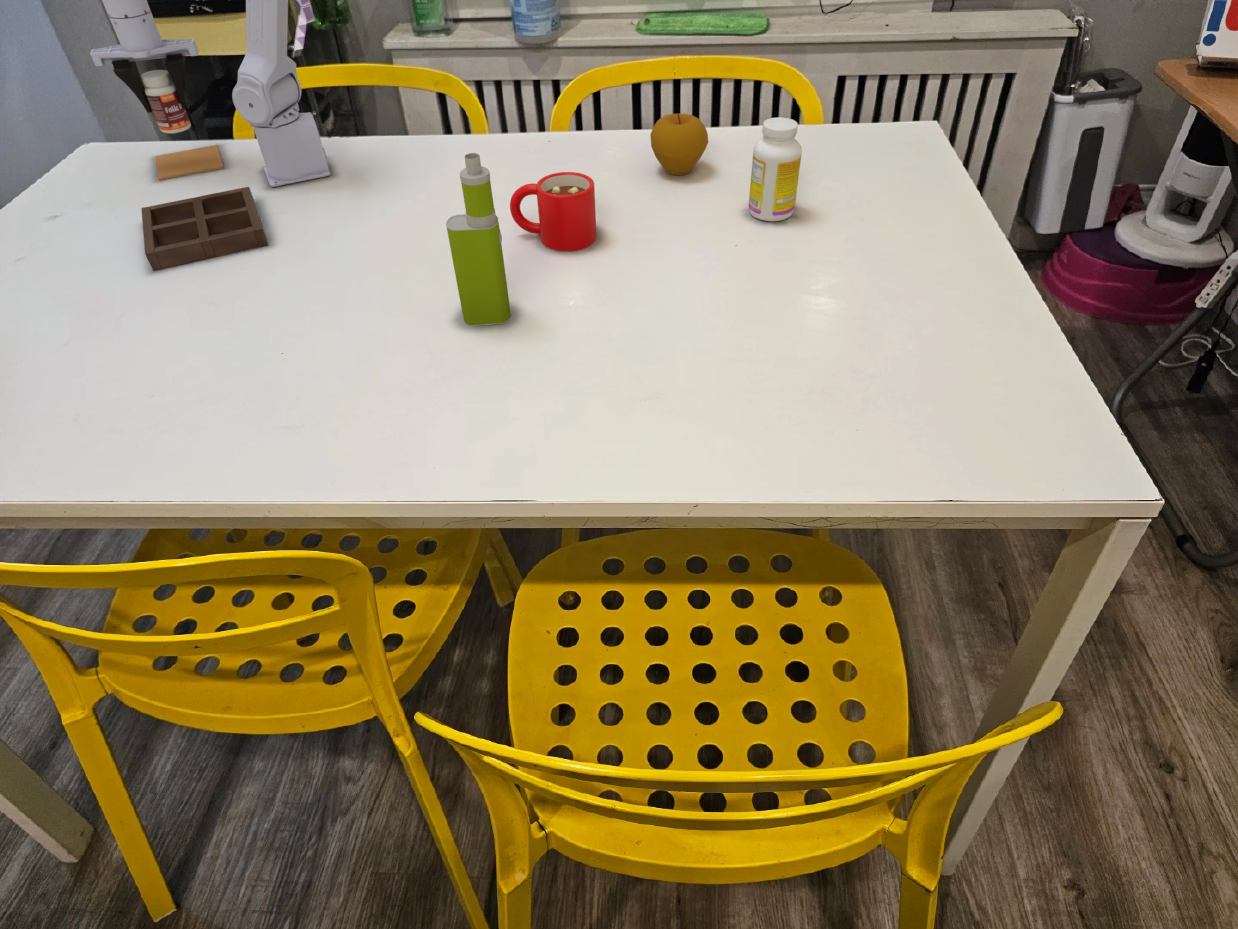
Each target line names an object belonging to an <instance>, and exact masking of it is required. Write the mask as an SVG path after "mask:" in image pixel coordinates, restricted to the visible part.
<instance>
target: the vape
mask: <svg viewBox="0 0 1238 929" xmlns="http://www.w3.org/2000/svg"><path fill="white" fill-rule="evenodd" d="M463 157H464V163H465V168H462V169H460V171H459V179H460V184H461V189H462V190H461V191H462V196H463V202H464V209H465V214H455V215H452V216H450V217H448V219H446V222H445V227H446V231H447V236H448V242H449V248H450V253H451V260H452V264H453V269H454V275H455V280H456V285H457V292H458V297H459V302H460V308H461V314H462V318H463V322H464V324H466V325H467V326H470V327H478V326H492V325H493V326H494V325H495V326H496V325H503V324H506V323H507V322H509V320H510V319H511V317H512V313H511V311H512V310H511V305H510V304H511V303H510V297H509V289H508V282H507V275H506V274H507V273H506V267H505V260H504V251H503V245H502V242H503V236H502V232H501V228H500V222H499V217H498V216H497V214H496V209H495V205H494V198H493V190H492V183H491V173H490V170H489V168H488V167H485V166H482V164H481V156H480V154H479V153H477V152H469V153H467V154H465V155H464V156H463Z"/></svg>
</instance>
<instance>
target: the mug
mask: <svg viewBox="0 0 1238 929" xmlns="http://www.w3.org/2000/svg"><path fill="white" fill-rule="evenodd" d="M595 191H596V190H595V182H594V179H593V178H591V177H590V176H589V175H586V174H585V173H581V172H575V171H561V172H554V173H550V174H548V175H545V176H544V177H541V178H540V179H538V180H537V182H536V183H527V184H523V185H522V186H520V187H518V188H517V189H515V191H514V192H513V193H512V196H511V197H510V200H509V210H510V214H511V217H512V219H513V221H514V223H516V225H517V226H518V227H519V228H521V229H522V230H524V231H525V232H527V233H531V234H538V235H539V234H540V240H541V243H542V244H543V246H544V247H546V248H548V249H550V250H553V251H557V252H576V251H580V250H585V249H586V248H588V247H591V246H592V245H593V244H594V243H595V242H596V240H597V236H598V234H597V216H596V214H597V213H596V212H597V211H596V194H595V193H596V192H595ZM533 195H535V196H536V201H537V202H536V203H537V211H538V220H539V222H533V221H531V220H529V219H527V218H526V217H525V216H524V215H523V213H522V211H521V204H522V201H523V200H524V199H525V197H529V196H533Z"/></svg>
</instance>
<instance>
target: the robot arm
mask: <svg viewBox="0 0 1238 929" xmlns="http://www.w3.org/2000/svg"><path fill="white" fill-rule="evenodd" d="M101 1H102V4H103V6H104V9H105V11H106V13H107V16H108V18H109V20H110V22H111V25H112V28H113V30H114V33H115V34H116V37H117V39H118V42H119V44H115V45H112V46H111V45H110V46H106V47H100V48H93V49H91V50H90V52H89V54H90V56H91V58H92V61H93V63H94V66H95V67H96V68H97V67H104V65H112V67H113V70H112V71H113V74H114V75H115V76H116V77H117V78H118V79H119V80H120V81H122V82H123V83H124V85H126V87H128V88H129V89H130V90H131V92H132V93H133V94H134V95H135V96H136V97H137V99H138V101H139V102H140V103H141V105H142V106H143V108H144V109H145V111H146V113H153V112H152V109H151V107H150V104H149V102H148V99H147V97H146V95H145V88H146V86H145V85H144V84H143V81H142V78H141V74H140V71H139V68H138V66H137V62H139V61H149V60H157V59H166V60H165V62H164V66H165V68H166V71H168V72H169V75H170V77H171V80H172V83H173V84H174V85H175V88H176V90H177V94H178V97H179V100H180V103H181V105H182V107H183V108H185V109H188V108H189V104H190V103H189V100H188V96H187V89H186V77H185V76H186V72H185V71H186V57H187V56H190V57H197V56H199V49H198V45H197V43H196V40H195V38H186V39H185V38H184V39H162V37H161V34H160V31H159V29H158V26H157V24H156V22H155V19H154V16H153V13H152V10H151V8H150V5H149V2H148V0H101ZM288 20H289V0H245V29H246V30H245V32H246V35H245V36H246V37H245V38H246V52H245V55H244V58H243V60H242V62H241V64H240V65H239V68H238V70H237V80H236V84H235V86H234V87H233V89H232V93H231V94H232V95H231V98H232V99H231V100H232V103H233V105H234V107H235V110H236V112H237V113H238V114H239V115H240V116H241V117H242V119H243V120H245V121H246V122H248V124H249V126H250V127H252V129H253V131H254V134H255V138H256V141H257V144H258V147H259V150H260V153H261V156H262V158H263V161H264V164H265V166H264V167H263V170H264V173H265V176H266V179H267V181H268V183H269V186H270V187H271V188H275V187H279V186H285V185H290V184H293V183H299V182H304V181H310V180H315V179H319V178H320V179H321V178H324V177H329V176H331V171H330V168H329V164H328V161H327V160H328V157H327V152H326V149H325V148H324V147H323V143H322V140H321V136H320V133H319V130H318V126H317V124H316V121H315V118H314V116H313V113H312V112H299V111H300V106H299V102H300V100H301V98H302V86H301V83H300V80H299V78H298V73H297V62H295V61H294V60H293V59H292V58H290V57H289V56H288V26H289V24H288V23H289V22H288Z"/></svg>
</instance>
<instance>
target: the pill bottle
mask: <svg viewBox="0 0 1238 929" xmlns="http://www.w3.org/2000/svg"><path fill="white" fill-rule="evenodd" d="M140 77H141V80H142V82H143V85H144V87H145V95H146V97H147V99H148V102H149V104H150V107H151V109H152V112H151V113H152V114H153V116H154V118H155V119H154V120H155V122H156V124H157V126H158V129H159V131H160V132H161V133H165V134H178V133H182V132H184V131H187V130H189V129H190V128H191V126H192V124H191V121H190V118H189V115H188V113H187V109H186V108H183V107H182V105H181V103H180V100H179V97H178V94H177V90H176V88H175V85H174V83H173V81H172V79H171V76H170V74H169V72H168V70H167V69H154V70H149V71H146V72H143V73H141V74H140Z"/></svg>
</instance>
